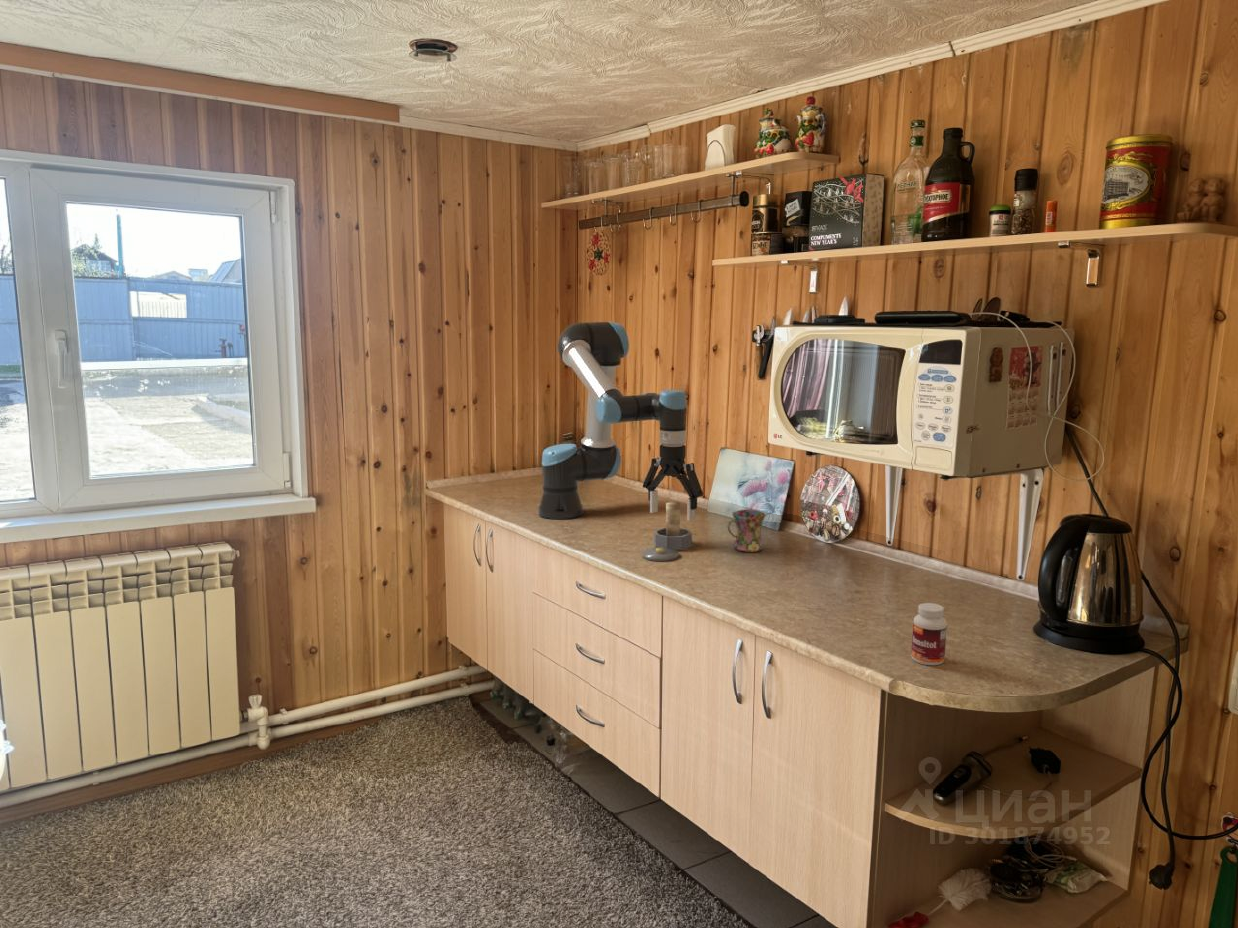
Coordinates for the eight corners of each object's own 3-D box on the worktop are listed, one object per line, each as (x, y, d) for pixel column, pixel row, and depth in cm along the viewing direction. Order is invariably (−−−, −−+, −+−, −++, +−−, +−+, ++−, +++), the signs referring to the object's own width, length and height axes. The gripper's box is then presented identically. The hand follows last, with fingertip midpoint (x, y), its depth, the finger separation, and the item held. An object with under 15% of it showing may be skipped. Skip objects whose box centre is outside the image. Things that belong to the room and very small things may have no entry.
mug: (751, 543, 253) (752, 508, 251) (771, 551, 245) (772, 514, 243) (718, 549, 247) (718, 513, 245) (737, 557, 239) (737, 520, 237)
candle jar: (647, 546, 251) (647, 532, 251) (669, 538, 259) (669, 525, 258) (676, 552, 244) (676, 539, 244) (698, 544, 252) (698, 531, 252)
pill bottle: (905, 660, 169) (908, 607, 167) (918, 651, 174) (921, 599, 172) (937, 669, 165) (940, 614, 163) (949, 659, 169) (952, 606, 167)
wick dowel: (663, 543, 251) (663, 503, 249) (671, 540, 254) (671, 501, 252) (674, 546, 249) (674, 505, 247) (682, 543, 252) (682, 503, 250)
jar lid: (635, 557, 241) (635, 549, 240) (657, 549, 248) (657, 541, 248) (663, 563, 234) (663, 555, 234) (685, 555, 242) (685, 547, 241)
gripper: (631, 441, 252) (631, 511, 256) (700, 451, 236) (699, 525, 240) (647, 438, 257) (647, 506, 261) (716, 447, 241) (714, 520, 245)
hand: (672, 516), depth 251 cm, fingers open, 13 cm apart
